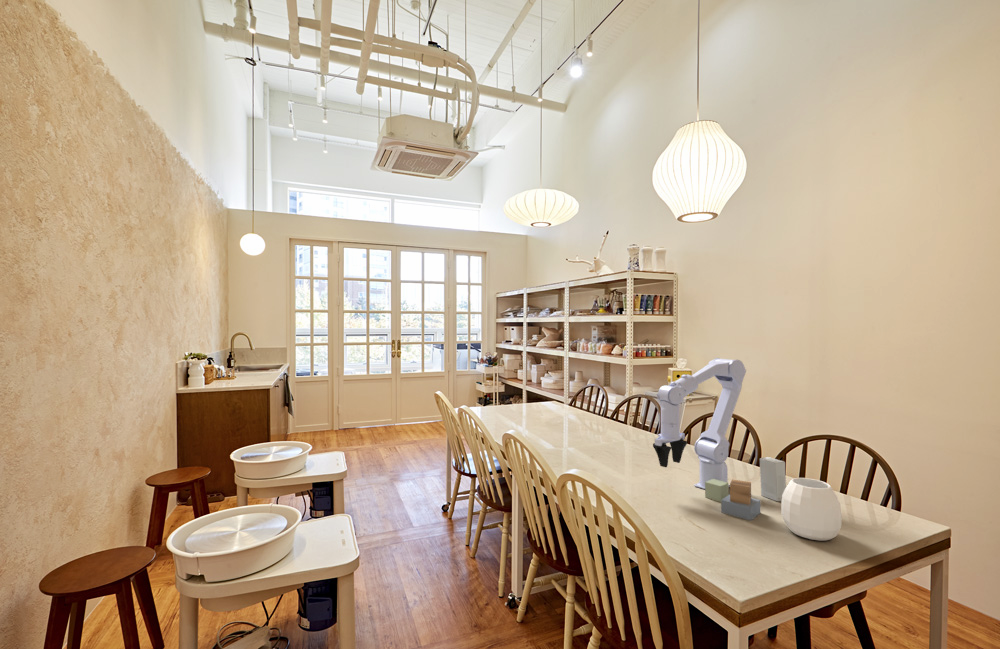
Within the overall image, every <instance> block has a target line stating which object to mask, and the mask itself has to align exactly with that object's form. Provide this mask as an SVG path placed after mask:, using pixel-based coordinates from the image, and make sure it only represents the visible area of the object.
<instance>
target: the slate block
mask: <svg viewBox="0 0 1000 649" xmlns="http://www.w3.org/2000/svg"><path fill="white" fill-rule="evenodd" d="M720 503H721V504H720V510H721V511H720V512H721V513H722V514H725V515H729V516H733V517H735V518H736V517H737V518H739V519H743V520H747V521H753V520H754V519H755V518H756V517H757V516H758V515H760V513H761V499H757V498H754V497H751V502H750V505H749V504H743V503H737V502H732V501H730V493H728V496H726V497H725V498H723V499H722V500H721V502H720Z"/></svg>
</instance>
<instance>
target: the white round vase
mask: <svg viewBox="0 0 1000 649" xmlns="http://www.w3.org/2000/svg"><path fill="white" fill-rule="evenodd" d="M780 502H781V503H780V508H781V509H780V513H781V517H782V520H783V522H784V524H785V526H786V528H788V529H789V531H791V532H792V533H793V534H794V535H796V536H799V537H802V538H805V539H807V540H808V539H809V540H813V541H814V540H815V541H819V542H820V541H829V540H832V539H835V537H837V536H838V535H839V532H840V530H841V528H842V523H843V522H842V521H843V520H842V518H843V517H842V516H843V515H842V514H843V513H842V506H841V502H840V500H839V498H838V495H837V494H836V492H835V491H834V489H833V487H832V486H831V485H830V483H828V482H825V481H822V480H820V479H814V478H810V477H809V478H808V477H795V478H792V479H791V480H790V481H789V482H788V484H786V488H785V490H784V492H783V495H782V501H780Z"/></svg>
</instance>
